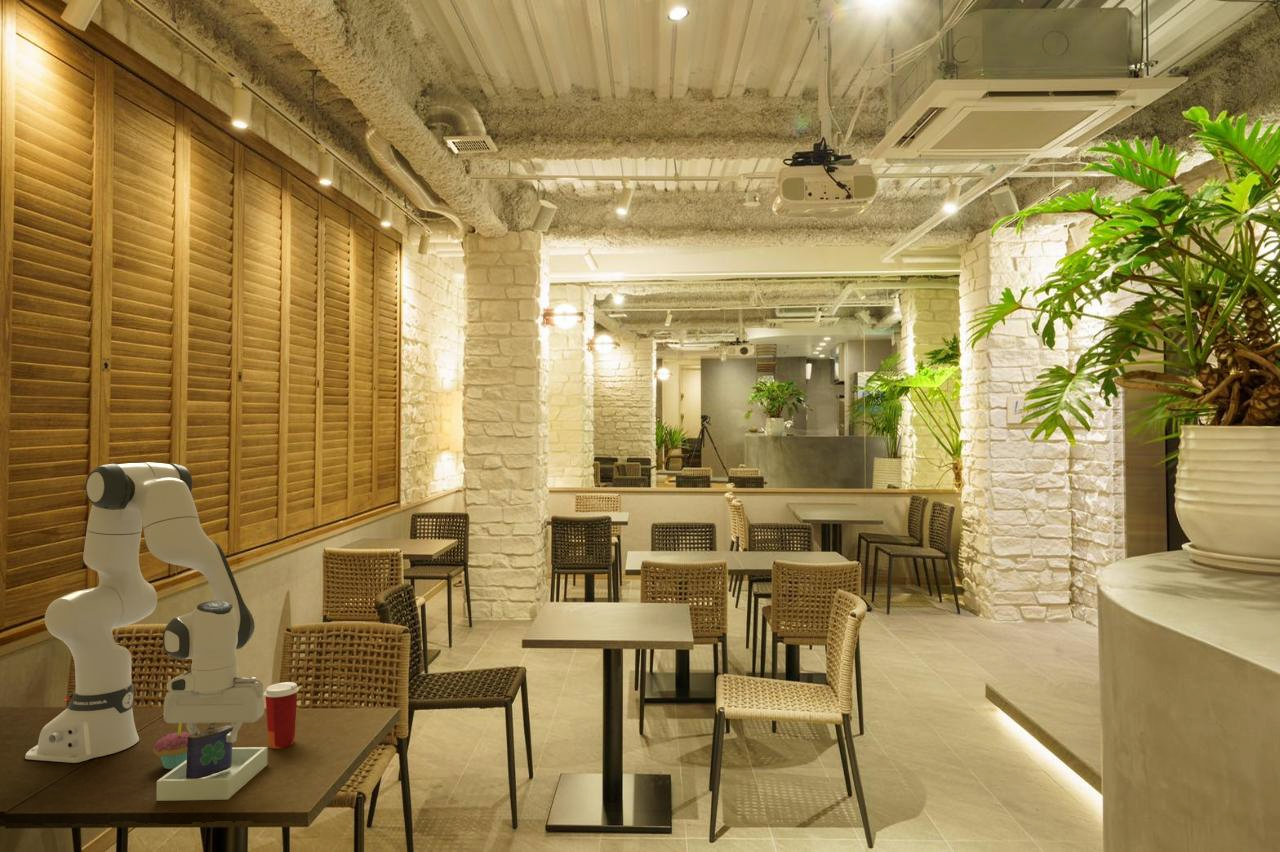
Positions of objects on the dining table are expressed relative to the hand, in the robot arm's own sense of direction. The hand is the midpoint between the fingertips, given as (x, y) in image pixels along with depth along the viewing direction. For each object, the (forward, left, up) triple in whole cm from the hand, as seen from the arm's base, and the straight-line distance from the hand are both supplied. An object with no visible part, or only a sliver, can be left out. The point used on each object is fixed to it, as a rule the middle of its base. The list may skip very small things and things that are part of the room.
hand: (214, 742), depth 162 cm
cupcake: (-14, +9, -9) cm, 19 cm away
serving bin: (0, 0, -9) cm, 9 cm away
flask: (-1, 0, -7) cm, 7 cm away
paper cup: (+5, +20, -9) cm, 22 cm away
